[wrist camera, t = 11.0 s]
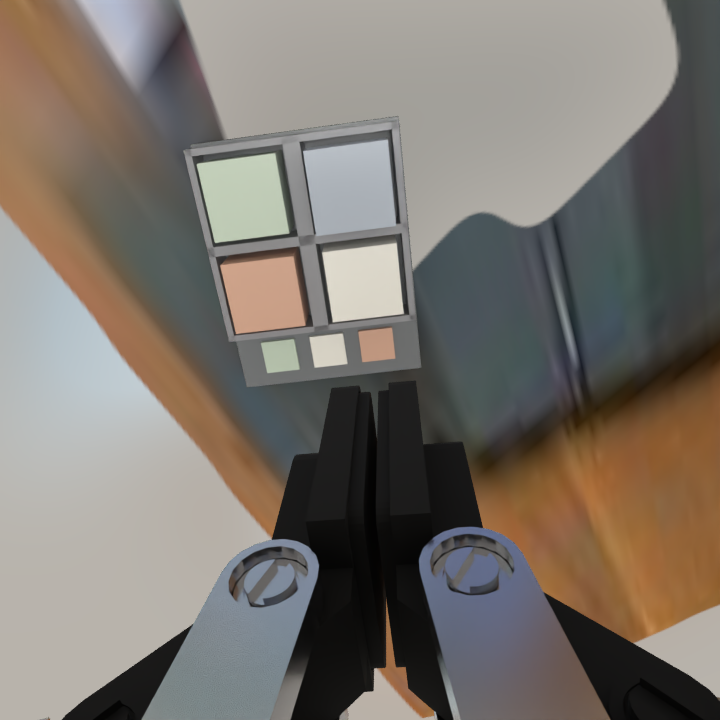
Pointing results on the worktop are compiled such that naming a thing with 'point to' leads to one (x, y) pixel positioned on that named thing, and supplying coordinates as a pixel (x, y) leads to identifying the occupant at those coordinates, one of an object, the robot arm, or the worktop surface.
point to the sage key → (247, 196)
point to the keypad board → (315, 268)
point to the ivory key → (363, 278)
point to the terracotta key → (266, 290)
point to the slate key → (350, 186)
